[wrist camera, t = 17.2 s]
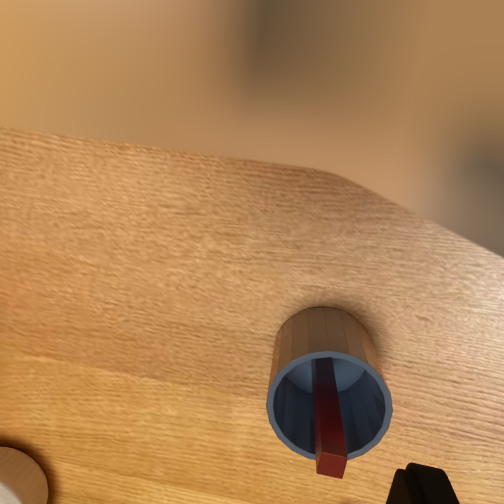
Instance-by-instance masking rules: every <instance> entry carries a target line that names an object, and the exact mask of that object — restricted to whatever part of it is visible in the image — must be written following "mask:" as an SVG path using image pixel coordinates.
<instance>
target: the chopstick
mask: <svg viewBox="0 0 504 504" xmlns="http://www.w3.org/2000/svg"><path fill="white" fill-rule="evenodd" d="M311 373H312V393H313V413H314V433H315V453H316V472H317V473H318V474H322V475H326V476H331V477H335V478H339V479H342V478H343V474H344V471H345V467H346V463H347V459H348V455H347V449H346V443H345V436H344V430H343V423H342V417H341V410H340V404H339V397H338V391H337V385H336V378H335V372H334V365H333V359H332V357H326V358H317V359H312V361H311Z"/></svg>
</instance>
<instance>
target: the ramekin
mask: <svg viewBox="0 0 504 504" xmlns="http://www.w3.org/2000/svg"><path fill="white" fill-rule="evenodd" d="M47 499H48V484H47V479H46V477H45V474H44V472H43V470H42V469H41V468H40V466H39V465H38V464H37V463H36V462H35V461H34V460H33V459H32V458H31V457H29V456H28V455H27V454H25V453H23V452H21V451H19V450H17V449H13V448H9V447H0V504H47Z"/></svg>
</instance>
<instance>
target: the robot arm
mask: <svg viewBox="0 0 504 504" xmlns="http://www.w3.org/2000/svg"><path fill="white" fill-rule="evenodd" d="M386 504H460V503H459V501H458V499H457V497H456V494H455V492H454V490H453V488H452V486H451V483H450V481H449V479H448V477H447V475H446V473H445V472H444V471H443V470H442V469H439V468H434V467H430V466H425V465H421V464H416V463H409V464H408V465H407V467H406V469H405V470H404V469H397V471H396V473H395V475H394V479H393V482H392V485H391V489H390V492H389V495H388V499H387V502H386Z"/></svg>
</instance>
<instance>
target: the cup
mask: <svg viewBox="0 0 504 504" xmlns="http://www.w3.org/2000/svg"><path fill="white" fill-rule="evenodd" d="M326 357H332V359H333V365H334V372H335V378H336V385H337V391H338V397H339V404H340V410H341V417H342V423H343V430H344V436H345V443H346V449H347V455H348V459H347V460H350V459H353V458H355V457H358V456H361V455H363V454H365V453H366V452H368V451H369V450H370V449H372V448H373V447H374V446H376V445H377V444H378V443H379V442H380V440H381V439H382V437H383V436H384V434H385V433H386V432H387V430H388V428H389V425H390V421H391V417H392V413H393V407H392V399H391V393H390V390H389V387H388V385H387V382H386V379H385V377H384V374H383V371H382V369H381V366H380V363H379V361H378V358H377V355H376V353H375V350H374V347H373V344H372V342H371V340H370V338H369V335H368V334H367V332H366V330H365V328H364V327H363V326H362V324H361V323H360V322H359V321H358V320H357V319H355V318H354V317H353V316H351V315H350V314H348V313H346V312H344V311H342V310H338V309H335V308H330V307H314V308H309V309H306V310H303V311H301V312H299V313H297V314H295V315H294V316H292V317H291V318H290V319H288V320H287V321H286V322H285V323H284V325H283V326H282V327H281V329H280V330H279V332H278V334H277V337H276V340H275V345H274V351H273V358H272V365H271V373H270V380H269V387H268V394H267V402H266V408H267V413H268V418H269V422H270V425H271V426H272V428H273V430H274V431H275V433H276V435H277V437H278V438H279V439H280V440H281V441H282V442H283V443H284V444H285V445H286V446H288V447H289V448H290V449H291V450H292V451H294V452H296V453H298V454H300V455H302V456H304V457H306V458H309V459H313V460H316V453H315V433H314V413H313V393H312V373H311V361H312V359H317V358H326Z"/></svg>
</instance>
